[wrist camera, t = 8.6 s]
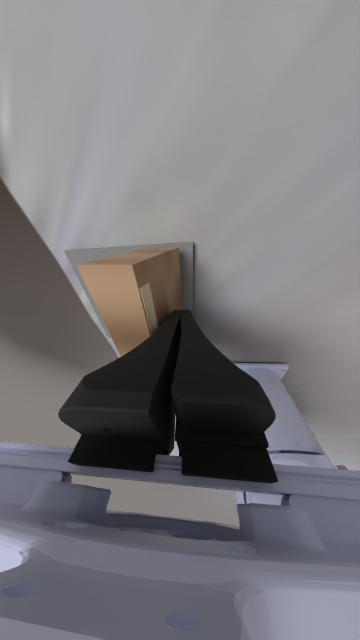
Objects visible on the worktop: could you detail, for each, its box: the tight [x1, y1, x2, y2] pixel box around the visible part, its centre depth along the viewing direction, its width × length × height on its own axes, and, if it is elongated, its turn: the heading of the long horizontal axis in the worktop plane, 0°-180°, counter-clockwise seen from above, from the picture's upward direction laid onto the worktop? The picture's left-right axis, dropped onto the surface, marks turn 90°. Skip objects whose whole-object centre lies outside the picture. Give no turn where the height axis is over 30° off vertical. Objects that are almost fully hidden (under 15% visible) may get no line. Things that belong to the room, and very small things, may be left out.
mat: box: [65, 242, 193, 338], centre depth 14 cm, size 10×11×1 cm
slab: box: [76, 247, 182, 357], centre depth 10 cm, size 9×3×6 cm, turn 4°
